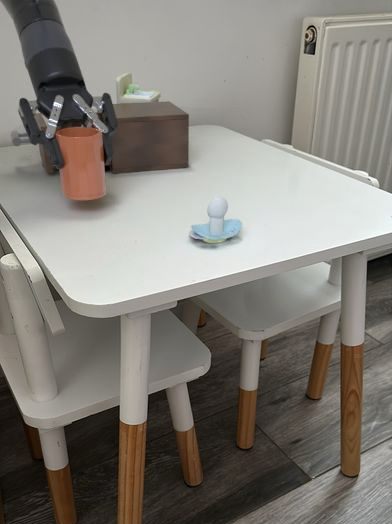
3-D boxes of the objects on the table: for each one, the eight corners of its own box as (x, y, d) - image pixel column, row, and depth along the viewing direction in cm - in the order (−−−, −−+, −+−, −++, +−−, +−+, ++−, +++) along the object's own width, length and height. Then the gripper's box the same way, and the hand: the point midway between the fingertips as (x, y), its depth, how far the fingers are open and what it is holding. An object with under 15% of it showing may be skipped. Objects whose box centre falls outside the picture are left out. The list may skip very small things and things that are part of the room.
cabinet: (113, 173, 103) (109, 118, 97) (100, 155, 112) (96, 104, 107) (188, 167, 107) (188, 114, 101) (170, 150, 116) (169, 101, 111)
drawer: (18, 175, 98) (10, 128, 94) (14, 157, 107) (7, 114, 103) (121, 167, 103) (118, 122, 99) (109, 151, 112) (106, 109, 108)
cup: (55, 198, 83) (47, 135, 78) (72, 184, 89) (66, 125, 84) (97, 202, 82) (92, 138, 77) (111, 188, 88) (108, 128, 83)
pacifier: (180, 235, 80) (199, 249, 75) (180, 191, 76) (199, 204, 72) (225, 227, 82) (246, 240, 78) (227, 184, 79) (248, 196, 75)
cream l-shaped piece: (152, 147, 118) (150, 79, 111) (119, 144, 120) (115, 77, 112) (162, 137, 125) (161, 73, 118) (130, 135, 126) (127, 71, 119)
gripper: (4, 46, 77) (39, 154, 75) (102, 44, 83) (137, 144, 81) (1, 82, 84) (33, 182, 82) (92, 78, 90) (124, 171, 88)
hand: (85, 163), depth 81 cm, fingers closed on cup, 6 cm apart
